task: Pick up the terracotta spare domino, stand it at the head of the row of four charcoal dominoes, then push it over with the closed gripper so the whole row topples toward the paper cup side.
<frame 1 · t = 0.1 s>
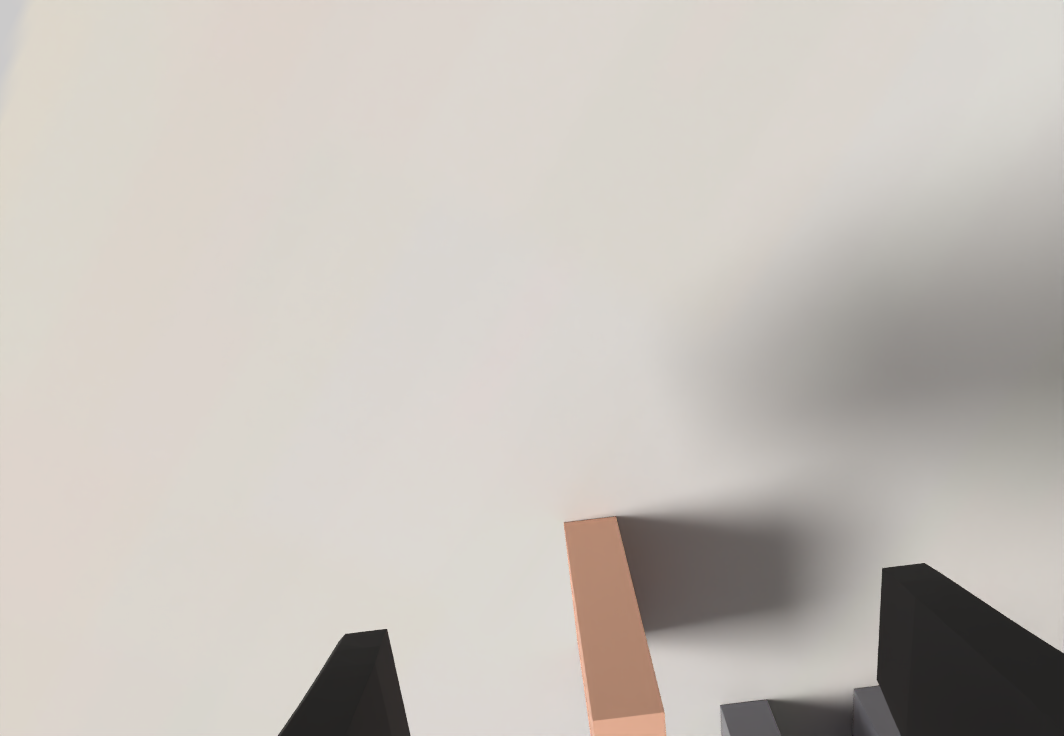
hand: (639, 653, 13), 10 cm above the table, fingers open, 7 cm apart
spare domino: (596, 581, 24), on the table
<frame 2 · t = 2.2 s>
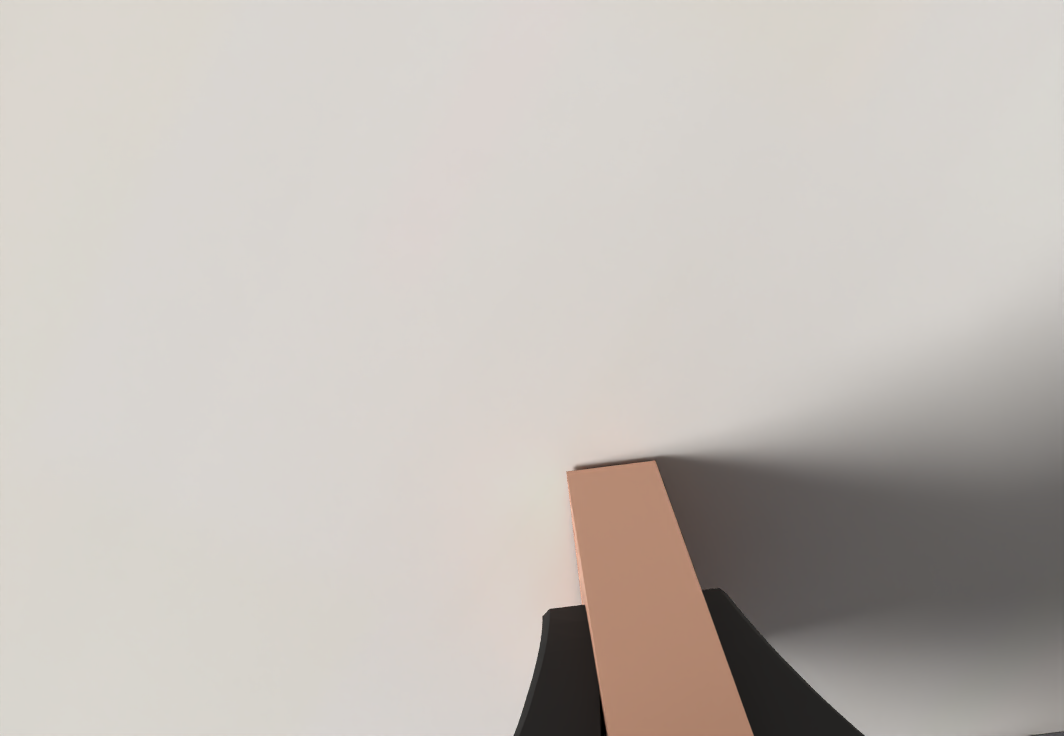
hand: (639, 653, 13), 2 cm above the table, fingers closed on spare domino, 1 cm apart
spare domino: (620, 571, 15), on the table, touching gripper
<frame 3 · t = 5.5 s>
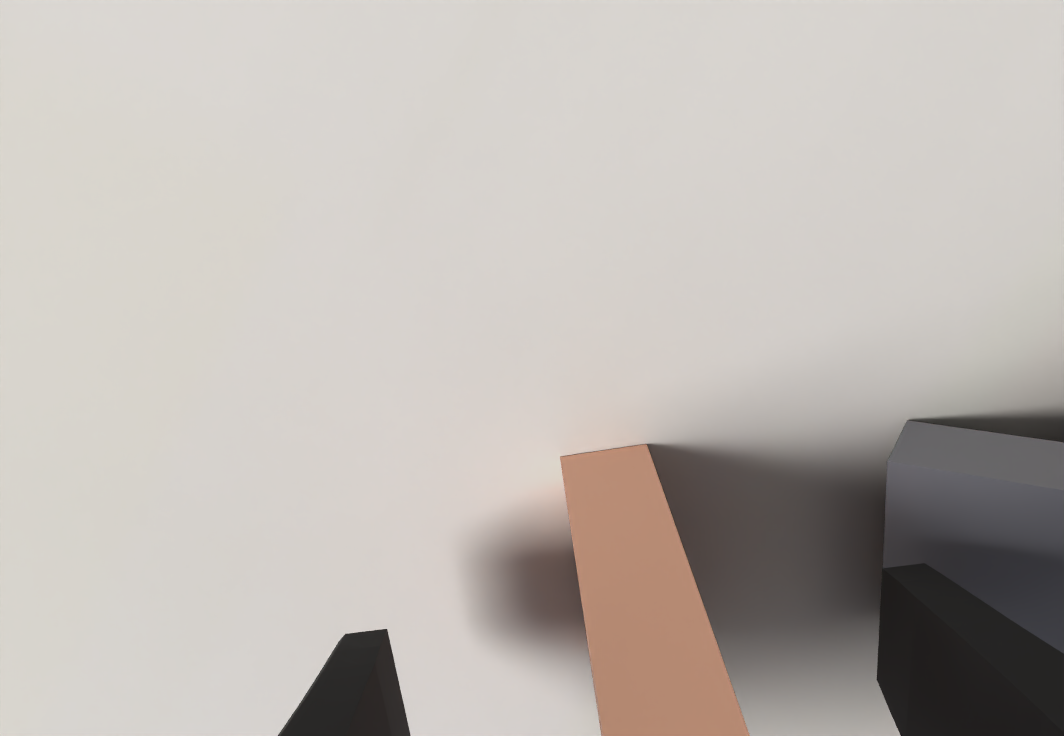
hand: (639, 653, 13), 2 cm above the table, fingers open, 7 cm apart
spare domino: (616, 554, 15), on the table
domino 1: (892, 548, 14), point 1 cm above the table, tilted 55°, touching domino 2
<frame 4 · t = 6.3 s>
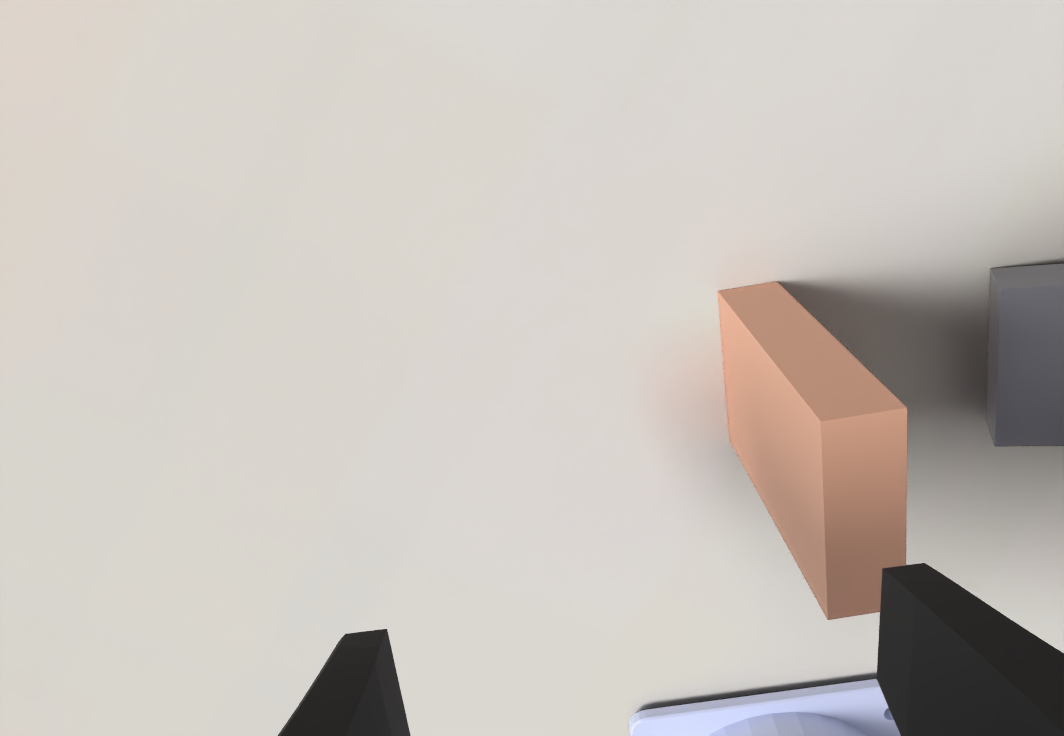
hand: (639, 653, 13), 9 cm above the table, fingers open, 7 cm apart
spare domino: (752, 364, 21), on the table
domino 1: (992, 358, 21), point 1 cm above the table, tilted 70°, touching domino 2
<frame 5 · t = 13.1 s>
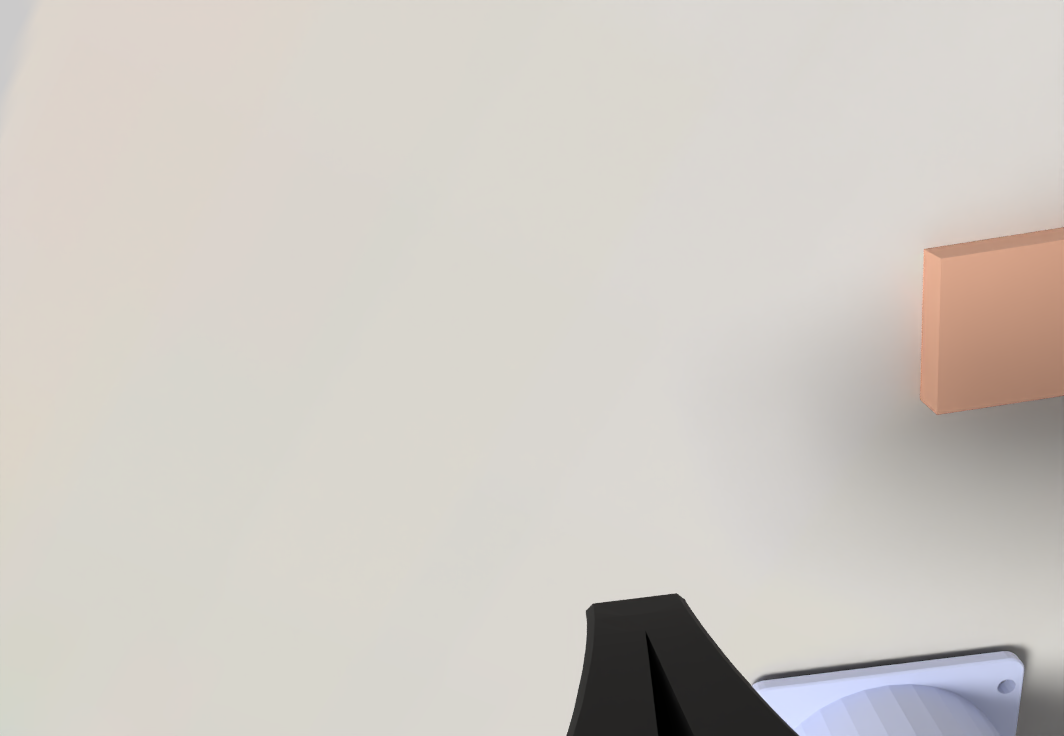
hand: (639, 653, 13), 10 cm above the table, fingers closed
spare domino: (925, 329, 22), on the table, tilted 90°
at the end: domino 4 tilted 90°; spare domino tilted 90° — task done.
